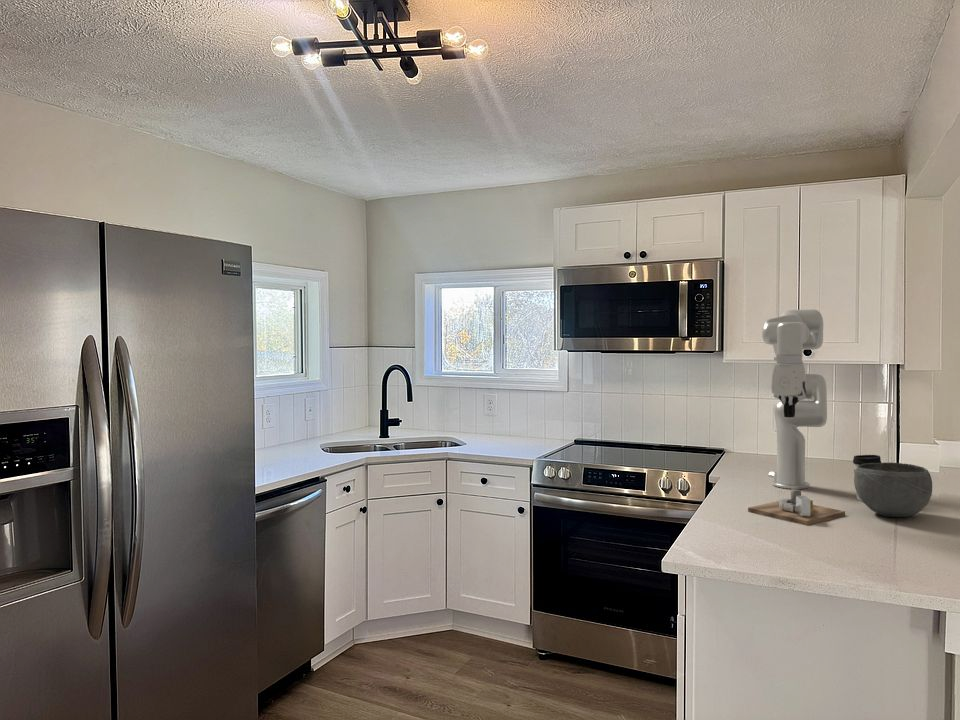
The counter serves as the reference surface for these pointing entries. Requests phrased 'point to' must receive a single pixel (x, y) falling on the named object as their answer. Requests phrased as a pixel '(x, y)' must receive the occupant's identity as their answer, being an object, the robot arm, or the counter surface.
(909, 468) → the bowl
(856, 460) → the coffee cup
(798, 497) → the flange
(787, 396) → the robot arm
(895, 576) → the counter surface
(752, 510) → the post base
